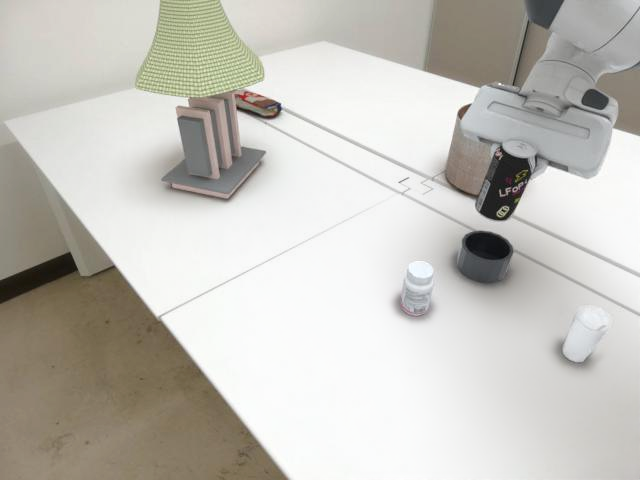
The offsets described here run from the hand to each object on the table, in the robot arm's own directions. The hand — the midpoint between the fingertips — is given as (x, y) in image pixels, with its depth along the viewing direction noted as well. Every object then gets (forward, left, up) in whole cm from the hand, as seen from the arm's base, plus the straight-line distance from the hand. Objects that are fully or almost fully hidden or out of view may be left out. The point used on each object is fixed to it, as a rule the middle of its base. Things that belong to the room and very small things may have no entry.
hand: (505, 181), depth 66 cm
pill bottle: (+7, +10, -22) cm, 25 cm away
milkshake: (-18, +5, -22) cm, 29 cm away
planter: (+11, -36, -22) cm, 44 cm away
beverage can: (+1, -1, -6) cm, 6 cm away
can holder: (+1, -6, -22) cm, 23 cm away
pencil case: (+82, -36, -22) cm, 92 cm away
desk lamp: (+64, -2, -22) cm, 67 cm away
